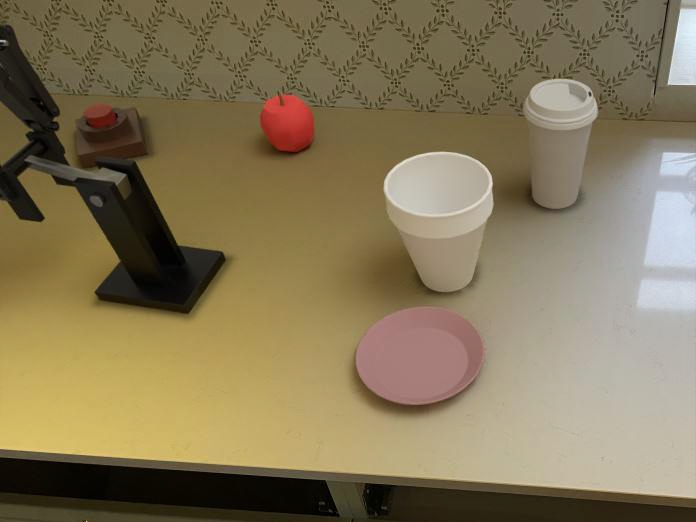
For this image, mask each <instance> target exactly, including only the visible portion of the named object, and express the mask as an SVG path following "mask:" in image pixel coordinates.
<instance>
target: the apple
mask: <svg viewBox="0 0 696 522" xmlns="http://www.w3.org/2000/svg"><path fill="white" fill-rule="evenodd" d="M259 122H260V128H261V130H262V131H263V133H264V135H265V137H266V139H267V140H268V142H269V144H270V145H272V146H273V147H274V148H275V149H276V150H278V151H281V152H287V153H298V152H300V151H302V150H305V149H306V148H307V147H308V146H310V145H312V143H313V142H312V141H313V139H314V137H315V116H314V115H313V112H312V110H311V108H310V106H308V105H307V104H306V103H305V102H304V101H302V100H301V99H300V98H299V97H298V96H296V95H294V94H278V95H275V96H273V97H271V98H267V99H266V101H265V103H264V105H263V107H262V109H261V112H260V115H259Z"/></svg>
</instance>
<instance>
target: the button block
mask: <svg viewBox="0 0 696 522" xmlns="http://www.w3.org/2000/svg"><path fill="white" fill-rule="evenodd" d="M112 109H113V111H114V113H115V115H116V117H117V119H116V121H115V122H113V123H111V124H109V125H107V126H103V127H91V126H90V125H89V124H88V122H87V120H86V118H85V116H84V114H83V115H82V116H81V117H80V118H75V119H74V124H75V136H76V148H77V157H78V159H79V160H80V162H81V163H82V165H83V167H84V168H85V169H87V168H93V167H97V165H96V163H95V160H96V159H97V158H98V157H99V156H101V157H109V158H117V159H126V160H129V159H131V158H135V157H140V156H145V155H148V154H149V153H148V148H147V142H146V138H145V132H144V128H143V122H142V118H141V116H140V114H139V112H138V110H137V108H136V106H132V107H128V108H123V109H122V108H119V107H112Z"/></svg>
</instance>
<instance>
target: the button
mask: <svg viewBox="0 0 696 522" xmlns="http://www.w3.org/2000/svg"><path fill="white" fill-rule="evenodd" d="M112 108H113V107H112V106H111V105H110V104H106V103H98V104H94V105H91V106H89V107H87V108H86V109H84V111H83V115H84V116H85V118H86V120H87V122H88V124H89V125H90V126H91V127H103V126H107V125H109V124H111V123H113V122H115V121H116V119H117V117H116V115H115V113H114V111H113V109H112Z"/></svg>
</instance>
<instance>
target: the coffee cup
mask: <svg viewBox="0 0 696 522" xmlns="http://www.w3.org/2000/svg"><path fill="white" fill-rule="evenodd" d="M522 112H523V115H524V117H525V118H526V122H527V137H528V149H529V151H528V152H529V164H530V165H529V166H530V180H531V181H530V182H531V196H532V199H533V201H534V202H535V203H536V204H537V205H539V206H541V207H543V208H547V209H553V210H560V209H565V208H568V207H571V206H572V205H574V204H575V203H576V202H577V199H578V196H579V192H580V191H579V190H580V186H581V180H582V176H583V171H584V165H585V162H586V161H585V160H586V156H587V150H588V146H589V142H590V137H591V136H590V135H591V131H592V126H593V123H594V121H595V120H596V118H597V117H598V115H599V108H598V104H597V100H596V98H595V96H594V93H593V90H592V89H591V88H590V87H589V86H588V85H586V84H584V83H583V82H580V81H577V80H574V79H569V78H552V79H547V80H543V81H541V82H539V83H537V84H535V85H534V86H533V87H532V88H531V89H530V92H529V94H528V95H527V97H526V99H525V100H524V103H523V108H522Z"/></svg>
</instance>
